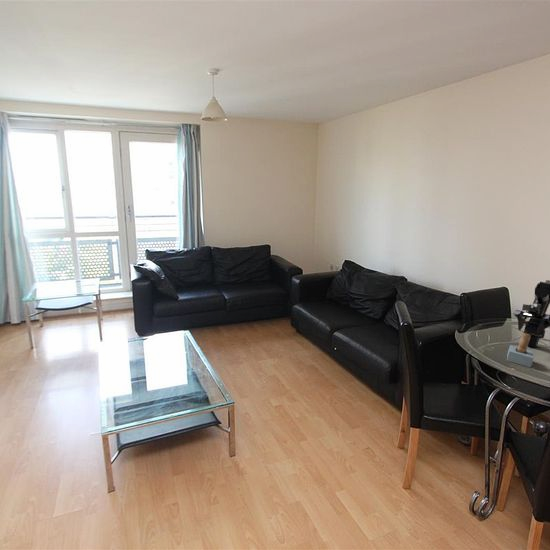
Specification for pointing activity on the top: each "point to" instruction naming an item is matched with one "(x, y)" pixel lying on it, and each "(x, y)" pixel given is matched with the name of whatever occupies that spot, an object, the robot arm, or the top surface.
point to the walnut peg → (523, 343)
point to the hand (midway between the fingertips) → (528, 331)
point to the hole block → (520, 356)
